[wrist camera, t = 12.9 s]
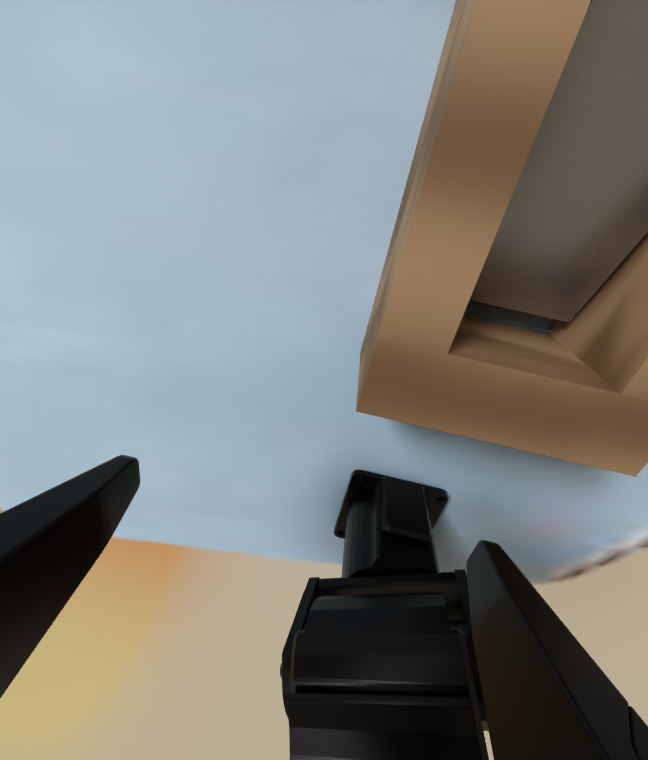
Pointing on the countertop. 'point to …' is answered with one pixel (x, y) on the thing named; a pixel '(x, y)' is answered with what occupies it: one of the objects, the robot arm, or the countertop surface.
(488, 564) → the robot arm
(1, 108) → the countertop surface
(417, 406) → the walnut frame
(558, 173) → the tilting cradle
